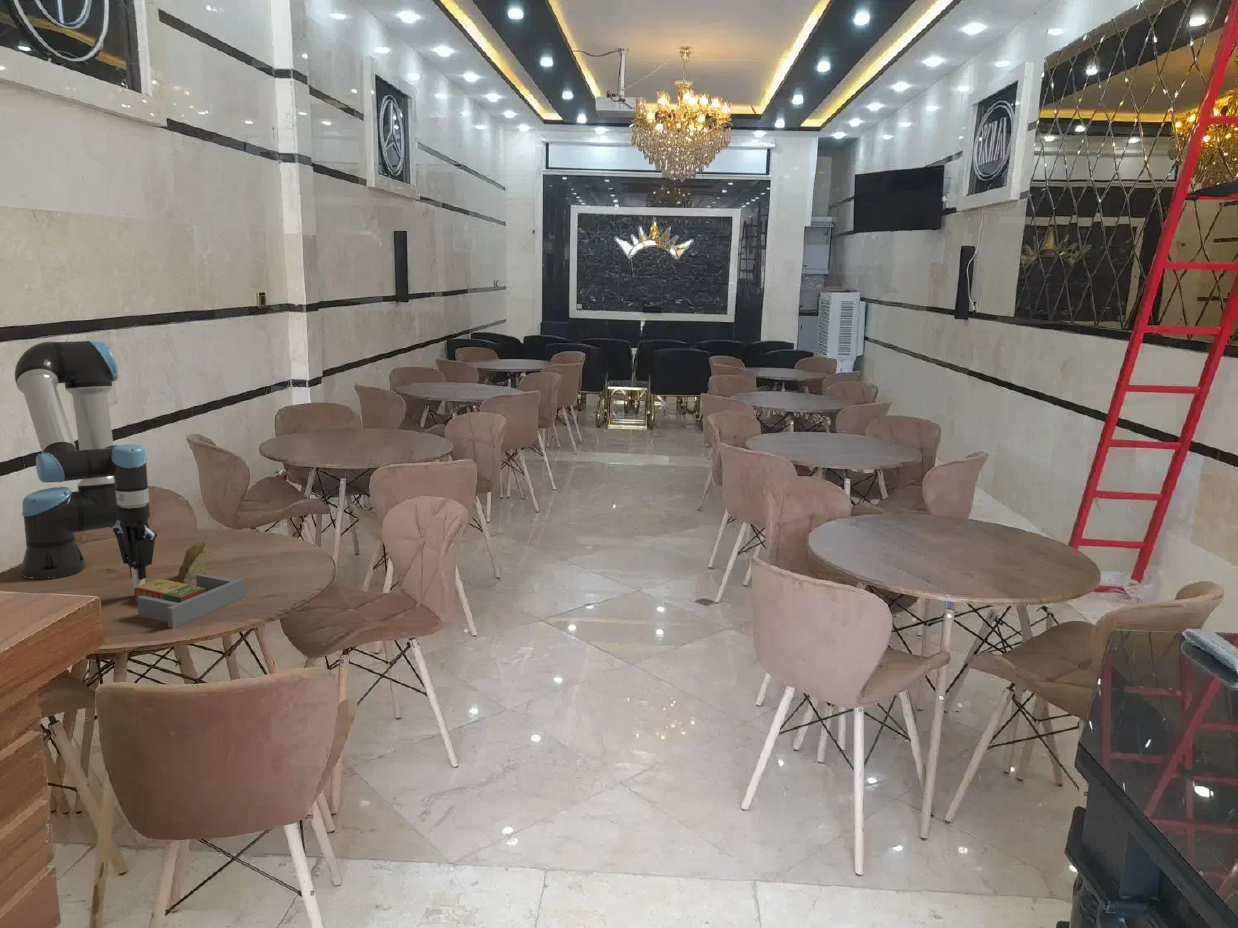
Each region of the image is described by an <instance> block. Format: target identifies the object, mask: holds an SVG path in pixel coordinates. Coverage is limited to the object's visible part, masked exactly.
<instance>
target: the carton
mask: <svg viewBox="0 0 1238 928" xmlns="http://www.w3.org/2000/svg"><path fill="white" fill-rule="evenodd" d="M205 592H206V590H205V588H203V587H198V586H197V585H193V584H187V583H180V582H176V581H172V580H167V579H163V578H157V579H154V580H151V581H149V582H145V584H143V585H140V586H137V587H135V588H134V591H133V593H134V600H135V601H136V602H137V597H139V596H142V595H143V596H148V597H153V598H157V599H162V600H167V601H172V602H176V603H180V602H182V601H185V600H187V599H190V598H192V597H195V596H197V595H200V594H202V593H205Z"/></svg>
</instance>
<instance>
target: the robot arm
mask: <svg viewBox="0 0 1238 928" xmlns="http://www.w3.org/2000/svg"><path fill="white" fill-rule="evenodd" d="M118 372H119V370H118V365H117V360H116V357H115V355H114V352H113V350H112V347H110V346H109V344H107V343H106V342H103V341H94V340H93V341H92V340H85V341H84V340H82V341H81V340H80V341H78V340H77V341H44V342H39V343H37V344H34V345H32V346H31V347H29V348H28V349H27V350H26V351H24V352H23V354H22V355H21V356H20V357H19V359H18V361H17V363H16V365H15V369H14V380H15V381H14V382H15V384H16V388H17V389H18V390H19V391H20V392H21V393H23V395H24V399H25V402H26V405H27V408H28V411H29V414H30V418H31V421H32V424H33V427H34V430H35V434H36V437H37V440H38V444H39V447H40V450H41V453H39V454H37V455H36V457H35V468H36V474H37V477H38V479H39V481H40V482H42V483H47V484H48V483H63V482H69V481H78V480H80V481H79V482H78V483H77V491H76V490H75V491H72V490H71V488H70V487H67V486H59V487H57V486H54V487H48V488H44V489H39V490H36V491H34V492H31V493H29V494H27V495H26V496H25V497H23V500H22V503H21V504H22V505H21V506H22V512H21V515H22V516H23V526H24V532H25V533H24V535H25V545H26V549H25V552H24V555H23V556H24V557H23V561H22V564H21V566H20V567H21V569H20V570H21V575H22V574H23V575H24V576H26V577H33V578H48V577H49V578H52V577H59V578H64V577H69V576H72V575H75V574H78V573H80V572H83V570H84V569H85V568H86V563H85V558H84V556H83V554H82V552H81V550H80V549H79V546H78V544H77V542H76V533H79V532H80V533H81V532H87V531H94V530H101V529H102V530H103V529H107V528H109V529H112V531H113V533H114V535H115V537H116V541H117V544H118V547H119V552H120V556H121V560H122V563H123V564H124V565H126V564H127V565H128V567H129V569H130V570H129V571H130V577H131V584H132V591H133V592H134V588H135V587H137V586H140V585H143V584H145V583H146V578H147V568H146V567H148V566H151V565H152V564H153V556H154V550H155V549H154V547H155V542H156V541H155V540H156V538H157V536H158V533H157V532H156V531H152V530H151V529H150V525H149V523H148V520H149V518H150V517H151V510H150V504H149V502H150V495H149V487H148V486H149V485H148V484H149V483H148V470H147V468H148V467H147V460H148V459H147V456H146V449H145V447H144V446H143V445H140V444H131V443H129V444H114V439H113V430H112V422H111V414H110V407H109V405H110V404H109V399H108V397H109V396H108V394H109V392H110V391H111V390H112V389H113V382H116V381H117V380H118V379H119V378H118V377H119V374H118ZM58 384H64V386H65V387H64V388H65V391H67V393H69V394H71V396H72V401H73V408H74V417H75V423H76V425H75V426H76V432H77V433H76V434H77V440H78V448H79V450H77V446H76V443H75V440H74V437H73V434H72V432H71V428H70V425H69V423H68V420H67V415H66V413H65V410H64V407H63V404H62V400H61V398H60V395H59V391H58V389H57V387H58ZM77 572H78V573H77ZM74 573H75V574H74ZM71 574H72V575H71ZM68 575H69V576H68ZM52 579H53V578H52Z"/></svg>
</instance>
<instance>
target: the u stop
mask: <svg viewBox="0 0 1238 928" xmlns="http://www.w3.org/2000/svg"><path fill="white" fill-rule="evenodd" d="M195 580H196V581H195V582H196V586H198V587H203V588H205V590H206V592H205V593H202V594H200V595H197V596H195V597H192V598H190V599H187V600H185V601H182V602H180V603H176V602H172V601H167V600H162V599H157V598H153V597H148V596H143V595H142V596H139V597H137V601H136V602H137V613H138V617H142V618H146V619H150V620H156V621H159V622H164V623H167V626H168V628H172V629H174V628H176V627H178V626H181V625H183V624H186V623H188V622H191V621H192V619H193V620H195V619H197V618H199V617H202V616H204V615H207V614H209V613H211V612H213V611H216V610H218V609H220V608H222V607H225V606H227V605H230V604H231V603H234V602H236V601H239V600H241V599H243V598H245V597H247V588H246V587H247V586H246V578H243V577H240V578H236V579H231V578H227V577H220V576H216V575H210V574H207V573H205V574H201V573H200V574H197V575H196V578H195Z"/></svg>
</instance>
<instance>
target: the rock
mask: <svg viewBox="0 0 1238 928" xmlns="http://www.w3.org/2000/svg"><path fill="white" fill-rule="evenodd" d="M207 557H208V548H207V545H206V543H204V542H201V543H200V542H199V543H198V542H197V543H195V544H193V545H192V546H191V547H190V548H188V549H186V550H185V556H184V558H183V562H182V564H181V565H180V567H179V569H178V574H177V577H176V579H175V582H178V583H183V584H185V583H187V582H189V581H191V580H194V579H196V575H197V574H200V573H201V574H207V573H208V567H207V559H208V558H207Z"/></svg>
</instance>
